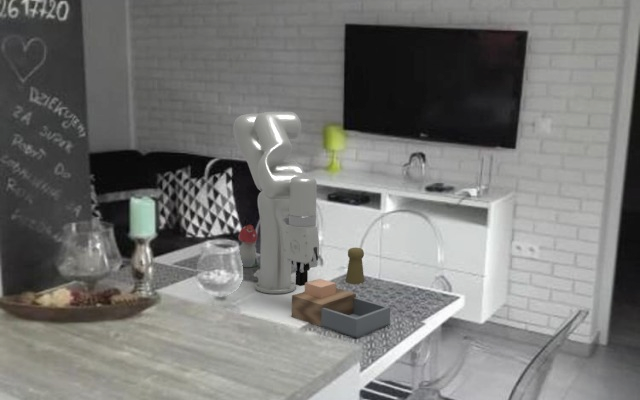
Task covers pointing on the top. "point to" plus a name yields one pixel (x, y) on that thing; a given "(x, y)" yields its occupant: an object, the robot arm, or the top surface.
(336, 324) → the box
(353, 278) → the cork
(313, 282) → the terracotta block
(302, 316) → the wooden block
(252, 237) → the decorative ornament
